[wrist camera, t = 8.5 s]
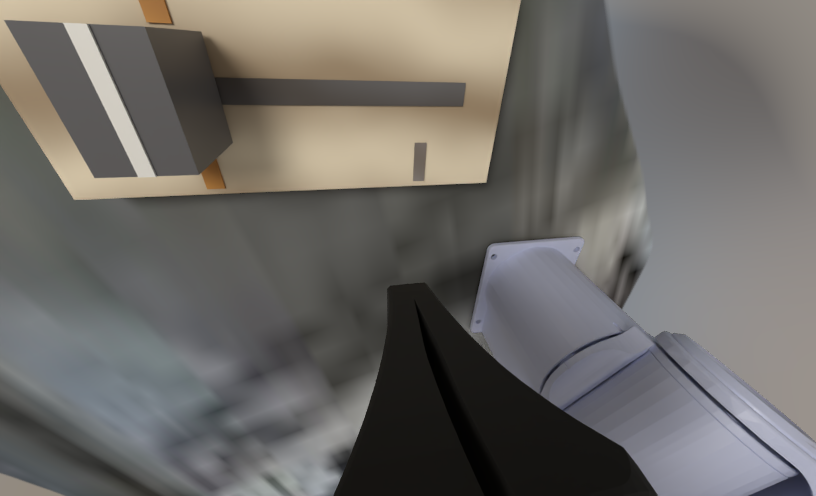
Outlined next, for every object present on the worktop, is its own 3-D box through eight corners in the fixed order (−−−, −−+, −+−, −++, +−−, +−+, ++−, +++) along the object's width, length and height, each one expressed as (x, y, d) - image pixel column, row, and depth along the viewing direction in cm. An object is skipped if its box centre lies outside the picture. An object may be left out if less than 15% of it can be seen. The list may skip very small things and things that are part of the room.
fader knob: (232, 142, 13) (198, 175, 10) (156, 143, 13) (93, 179, 9) (201, 31, 11) (143, 26, 8) (107, 27, 10) (1, 19, 7)
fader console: (473, 170, 19) (486, 183, 17) (102, 183, 15) (72, 200, 14) (504, -21, 14) (527, -30, 12) (-40, -69, 10) (-115, -91, 8)
